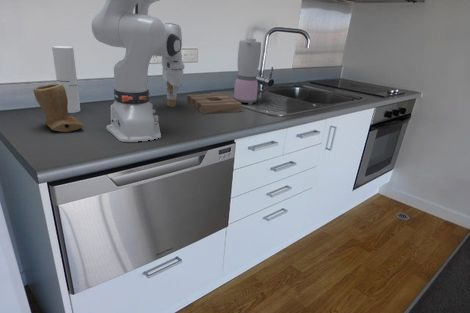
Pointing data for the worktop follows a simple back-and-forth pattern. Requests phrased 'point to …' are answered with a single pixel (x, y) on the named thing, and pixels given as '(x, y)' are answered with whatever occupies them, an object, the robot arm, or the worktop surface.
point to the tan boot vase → (56, 107)
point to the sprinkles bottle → (170, 95)
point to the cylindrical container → (67, 75)
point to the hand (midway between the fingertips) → (171, 92)
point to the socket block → (213, 103)
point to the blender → (247, 71)
